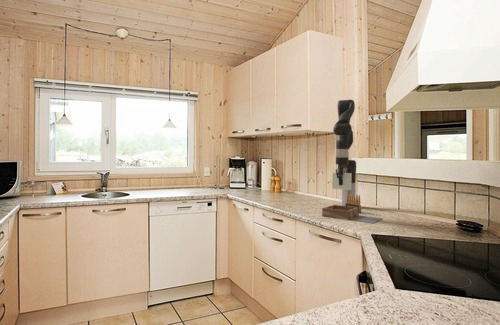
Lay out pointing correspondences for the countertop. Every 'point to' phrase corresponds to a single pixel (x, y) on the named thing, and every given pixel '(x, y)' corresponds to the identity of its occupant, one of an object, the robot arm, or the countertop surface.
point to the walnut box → (340, 212)
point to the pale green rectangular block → (346, 181)
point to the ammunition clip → (353, 201)
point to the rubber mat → (366, 219)
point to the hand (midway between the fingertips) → (341, 184)
